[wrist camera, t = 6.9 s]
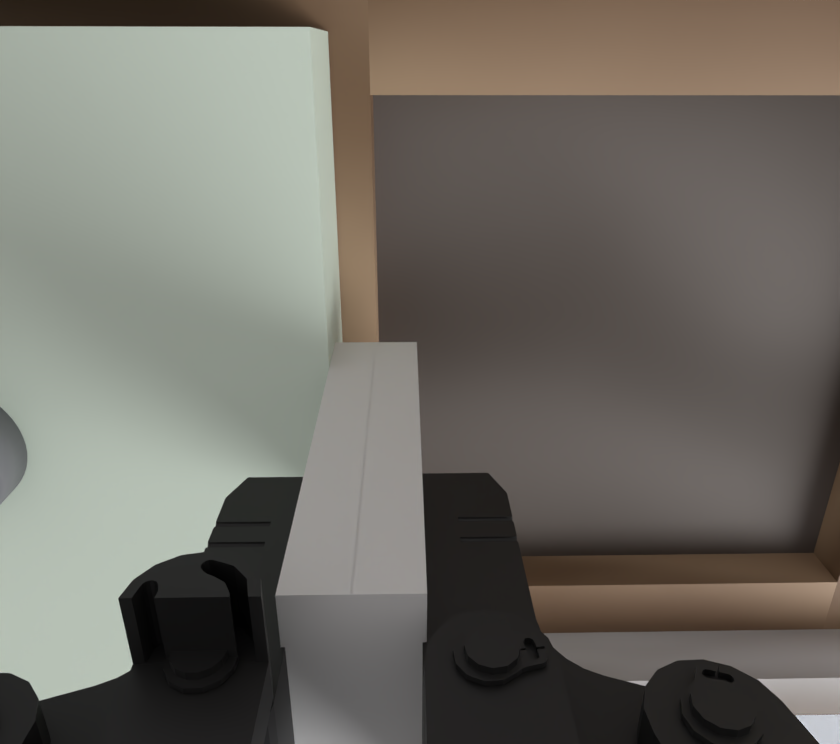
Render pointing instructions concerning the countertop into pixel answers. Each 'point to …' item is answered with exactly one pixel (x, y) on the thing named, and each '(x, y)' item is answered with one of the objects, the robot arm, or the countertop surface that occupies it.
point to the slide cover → (150, 309)
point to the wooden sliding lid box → (604, 295)
